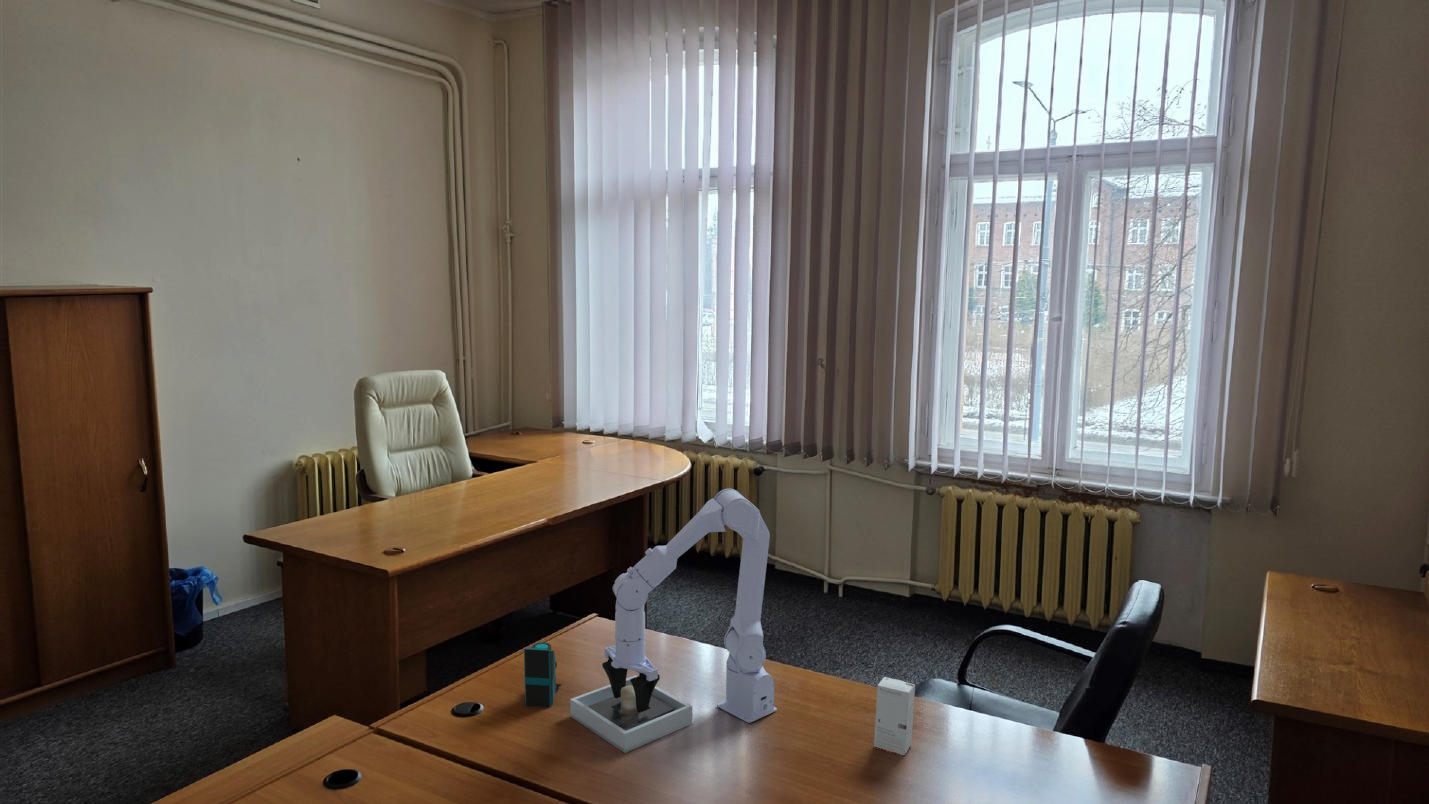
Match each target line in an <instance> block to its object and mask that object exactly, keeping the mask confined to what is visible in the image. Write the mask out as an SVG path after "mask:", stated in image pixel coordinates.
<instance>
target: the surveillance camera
mask: <svg viewBox="0 0 1429 804" xmlns="http://www.w3.org/2000/svg"><path fill="white" fill-rule="evenodd" d="M523 664H524V665H523V666H524V667H523V668H524V669H523V671H524V705H525V706H526V707H531V708H547V709H548V708H552V706H553V705H554V702H555V700H556V699H555V697H556V696H555V694H557V693H558V691H559V690H560V688H561V687H562V684H561V683H556V682H557V678H556V677H557V676H556V673H557V672H556V671H557V667H558V663H557V661H556V653H555V651H554V650H552V644H551V643H549V642H545V641H544V642H538V643H534V644H532V645H531V647H525V648H523ZM560 686H561V687H560ZM559 687H560V688H559Z"/></svg>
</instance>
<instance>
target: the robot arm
mask: <svg viewBox="0 0 1429 804" xmlns="http://www.w3.org/2000/svg"><path fill="white" fill-rule="evenodd" d="M725 526H727V527H728V528H730V530H732V531H734V532H736V533H737V534H738V535H740V537H742V548H741V554H740V565H739V574H738V582H737V592H736V603H735V608H734V609H735V611H734V615H733V616H732V617H731V619H730V624H729V628H728V630H727V631H726V633H725V635H724V637H723V644H724V647H725V649H726V650H727V652H729V653H728V657H727V659H726V663H725V664H726V668H725V669H726V672H725V673H726V674H725V677H726V680H725V682H726V684H725V686H726V688H725V690H726V691H725V694H726V695H725V696H726V697H725V698H726V699H725V700H722V701H719V702H717V704H716V707H717V708H720V709H721V710H723V711H725V712H727V713H729V714H731V715H732V716H734V717H736V718H738V719H740V720H742V721H744V722H746V723H748V724H751V723H753V722H756V721H757V720H759V719H761V718H764V717H766V716H768V715H770V714H772V713H774V712H776V711H778V710H777V707H776V706H775V680H774V678H773V676H772V675H770V674H769V673H768V672H767V671H766V670H765V668H764V667H763V666H764V664H765V661H766V657H767V652H766V648H765V647H764V631H763V629H762V628H763V627H762V623H761V617H762V610H763V609H762V608H763V601H764V600H763V599H764V593H765V592H764V591H765V583H766V582H765V581H766V573H767V564H768V558H769V557H768V555H769V547H770V537H771V535H770V534H771V533H770V531H769V528H768V526H767V525H766V523H765V521H764V519H763V517H762V515H761V511H760V509H758V507H756V506H755V505H754V504H753V503H752V502H751V501H750V500H749V499H747V498H746V497H744V496H743V494H742V493H740V492H739V491H738V490H736V489H734V488H725V489H721V490H720V491H719V492H718V493H716V494H715V496H714V498H713V497H712V498H711V499H709V500H708V501H706V502H705V504H704V505H703V506H702V507H701V509H700V510H699V511H698V512H697V513H696V514H694V516H693V517H692V518H691V519H690V520H689V521H688V522H687V524H685V525H684V527H682V529H680V531H678V532H677V534H676V535H674V536H673V538H671V540H670V541H668V543H667V544H666V545H656V546H654V547H653V548H651V547H649V548H647V549H646V551H645V552H644V553H645V556H644V557H642V558H641V559H640V560H639V561H638V562H637V563H635V565H634V566H633V567H632V566H629V568H627V570H626V572H625V573H624V572H623V573H621V574H619V576H617V578H616V579H615V580H614V584H613V586H612V592H613V594H614V595H615V597H616V600H615V613H614V614H615V615H614V617H615V619H614V621H615V622H614V625H615V627H614V629H615V630H614V631H615V632H614V633H615V634H614V635H615V636H614V637H615V641H614V643H615V645H611V646H607V647H605V648H604V658H606V659H607V661H604V662H603V663H602V664H601V665H602V669H603V670H604V672H605V674H606V677H607V678H608V680H609V685H610V684H611V688H612V692H613V695H614V698H619V697H621V689H622V688H623V687H625V686H626V679H627V675H628V670H629V671H633V672H636V673H637V674H638V675H639V676H638V675H637V677H635V678H632V679H630V681H631V683H632V686H633V688H634V692H635V697H636V708H637V711H638V712H639V713H641V712H643V711H646V710H648V707H649V703H650V699H651V695H652V692H653V690H654V688H655V686H657V684H658V682H659V681H660V679H661V677H660V674H659V671H658V670H659V668H657V667H655V666H654V665H653V664H652V662H651V661H650V660H649V658H648V657H647V655H646V612H645V605H646V604H647V601H648V597H649V594H650V592H652V591H653V590H654V589H655V588H656V587H657V586H659V584H661V583H662V582H663V581H664V580H665V579H666V578H667V577H668V576H669V575H671V574H672V573H673V572H674V571H675V570H676V569H677V564H678V563H677V562H678V559H679V557H681V556H682V555H684V554H685V553H686V552H687V551H688V550H689V549H690V548H692V547H693V546H695V544H696V543H698V542H699V541H700V540H701V539H702V538H704V537H705V536H706V535H707V534H709V533H726V532H727V530H726V529H725Z"/></svg>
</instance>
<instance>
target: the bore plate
mask: <svg viewBox="0 0 1429 804" xmlns="http://www.w3.org/2000/svg"><path fill="white" fill-rule="evenodd" d="M587 707H589V708H590V709H592V710H594V711H595V712H597V713H598V714H600V715H601V716H603V717H605V718H606V719H608V720H609V721H611V722H612V723H614V724H616V725H617V726H619V727H620V728H622V729H623V730H625V731H627V730H629V729H632V728H634V727H637V726H639V725H641V724H644V723H646V722H649V721H651V720H653V719H656V718H658V717H661V716H663V715H665V714H668V713H670V712H673V711H674V708H672V707H671V706H669V705H667V704H665V703H663V702H662V701H660V700H658V699H656V698H655V697H653V696H651V699H650V703H649V707H648V710H646V711H643V712H641V713H637V714H635V715H632V716H630V717H626V716H625V715H623V714H621V697H619V698H614V696H613V697H611V698H608V699H605V700H603V701H600V702H597V703H595V704H592V705H589V706H587Z"/></svg>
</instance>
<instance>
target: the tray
mask: <svg viewBox="0 0 1429 804" xmlns="http://www.w3.org/2000/svg"><path fill="white" fill-rule="evenodd" d="M637 676H638V675H633V676H630V677H626V686H629V685H632V683H631V681H630V679H632V678H635V677H637ZM613 696H614V695H613V692H612V688H611V684H610V683H609V684H608V685H605V686H602V687H600V688H597V689H595V690H592V691H589V692H586V693H583V694H580V695H577V696H575V697H571V698H570V700H569V703H570V705H569V706H570V710H569V711H570V718H572V719H573V720H575V721H577V723H579V722H580V723H579V724H581V725H582V726H584V727H585V728H587V729H588V730H590V731H591V732H592V733H594V734H596V735H597V736H599V737H600V738H602V739H603V740H605V741H607V743H609V744H610V745H612V746H614V747H615V748H616V749H618V750H620V751H621V752H623V753H624V754H627V753H628V752H631V751H633V750H635V749H637V748H640V747H642V746H644V745H646V744H649V743H651V742H654V741H656V740H659V739H661V738H663V737H665V736H667V735H670V734H672V733H674V732H676V731H679V730H682V729H683V728H685V727H688V726H690V725H693V705H691V704H689V703H688V702H686V701H684V700H682V699H680V698H679V697H676V695H673V694H672V693H669V692H667V691H666V690H664V689H663V688H661V687H659V686H657V685H656V686H655V688H654V690H653V692H652V695H651V696H653V697H655V698H656V699H658V700H660V701H662V702H663V703H665V704H667V705H669V706H671V707H672V708H674V711H673V712H670V713H668V714H665V715H663V716H661V717H658V718H656V719H653V720H651V721H649V722H646V723H644V724H641V725H639V726H637V727H634V728H632V729H629V730H627V731H625V730H623V729H622V728H620V727H619V726H617V725H616V724H614V723H612V722H611V721H609V720H608V719H606V718H605V717H603V716H601V715H600V714H598V713H597V712H595V711H594V710H592V709H590V708H589V707H587V706H589V705H592V704H595V703H597V702H600V701H603V700H605V699H608V698H611V697H613Z"/></svg>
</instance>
